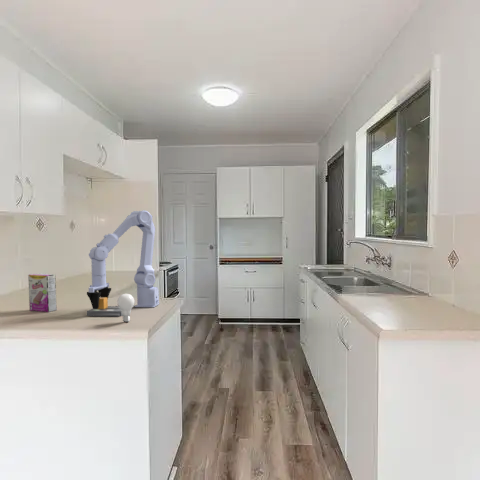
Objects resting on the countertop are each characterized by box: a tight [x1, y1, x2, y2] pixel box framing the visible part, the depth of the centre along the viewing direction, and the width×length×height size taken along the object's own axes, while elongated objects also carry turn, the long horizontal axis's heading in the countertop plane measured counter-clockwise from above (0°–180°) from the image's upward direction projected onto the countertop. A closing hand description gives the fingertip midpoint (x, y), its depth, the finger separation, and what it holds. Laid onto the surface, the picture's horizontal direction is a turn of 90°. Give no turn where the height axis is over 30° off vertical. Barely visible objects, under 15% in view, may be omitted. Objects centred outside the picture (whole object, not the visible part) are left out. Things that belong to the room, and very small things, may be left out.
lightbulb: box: [116, 293, 135, 323], centre depth 149 cm, size 6×6×11 cm
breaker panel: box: [86, 305, 123, 317], centre depth 166 cm, size 15×10×2 cm, turn 83°
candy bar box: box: [27, 273, 57, 313], centre depth 174 cm, size 11×5×16 cm, turn 71°
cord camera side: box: [90, 313, 121, 318], centre depth 160 cm, size 13×1×1 cm, turn 83°
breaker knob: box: [98, 297, 109, 309], centre depth 166 cm, size 3×4×4 cm
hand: (99, 306), depth 166 cm, fingers open, 7 cm apart
